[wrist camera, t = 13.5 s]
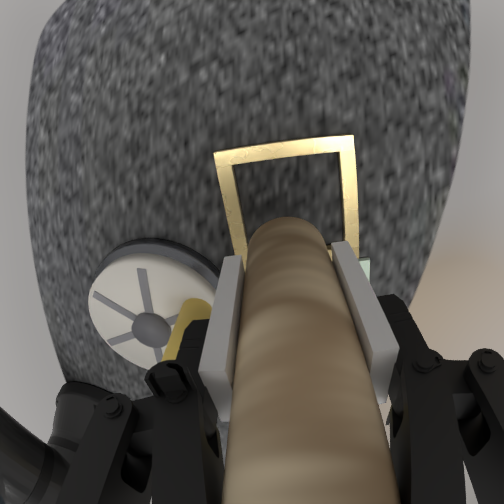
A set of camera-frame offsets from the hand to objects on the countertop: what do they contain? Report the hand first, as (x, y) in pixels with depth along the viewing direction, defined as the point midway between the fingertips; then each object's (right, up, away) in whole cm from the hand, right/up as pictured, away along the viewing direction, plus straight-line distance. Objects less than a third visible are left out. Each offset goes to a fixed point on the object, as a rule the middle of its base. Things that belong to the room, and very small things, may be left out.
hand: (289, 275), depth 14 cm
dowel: (0, +1, +2) cm, 2 cm away
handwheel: (-10, -4, +11) cm, 15 cm away
